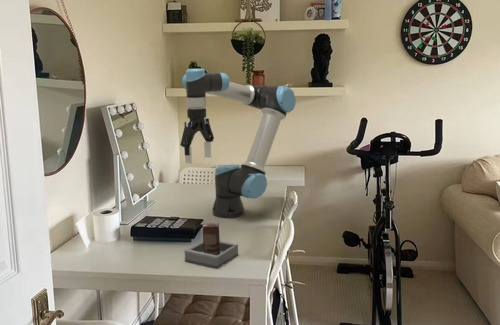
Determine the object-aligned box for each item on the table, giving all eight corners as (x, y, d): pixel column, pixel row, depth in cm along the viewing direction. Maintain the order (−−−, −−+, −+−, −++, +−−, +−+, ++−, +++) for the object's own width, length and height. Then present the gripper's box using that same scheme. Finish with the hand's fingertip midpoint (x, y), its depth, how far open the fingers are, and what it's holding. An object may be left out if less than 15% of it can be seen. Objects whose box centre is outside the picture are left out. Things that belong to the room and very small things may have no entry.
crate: (206, 248, 193) (206, 238, 192) (238, 255, 186) (238, 244, 185) (184, 261, 181) (184, 250, 180) (217, 268, 174) (217, 257, 173)
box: (220, 253, 186) (219, 222, 183) (220, 257, 181) (219, 226, 179) (203, 253, 185) (202, 222, 183) (203, 258, 181) (202, 226, 179)
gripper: (206, 105, 211) (207, 154, 216) (169, 110, 190) (172, 165, 194) (221, 105, 208) (222, 155, 212) (185, 111, 186) (188, 166, 191)
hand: (198, 160), depth 203 cm, fingers open, 13 cm apart
